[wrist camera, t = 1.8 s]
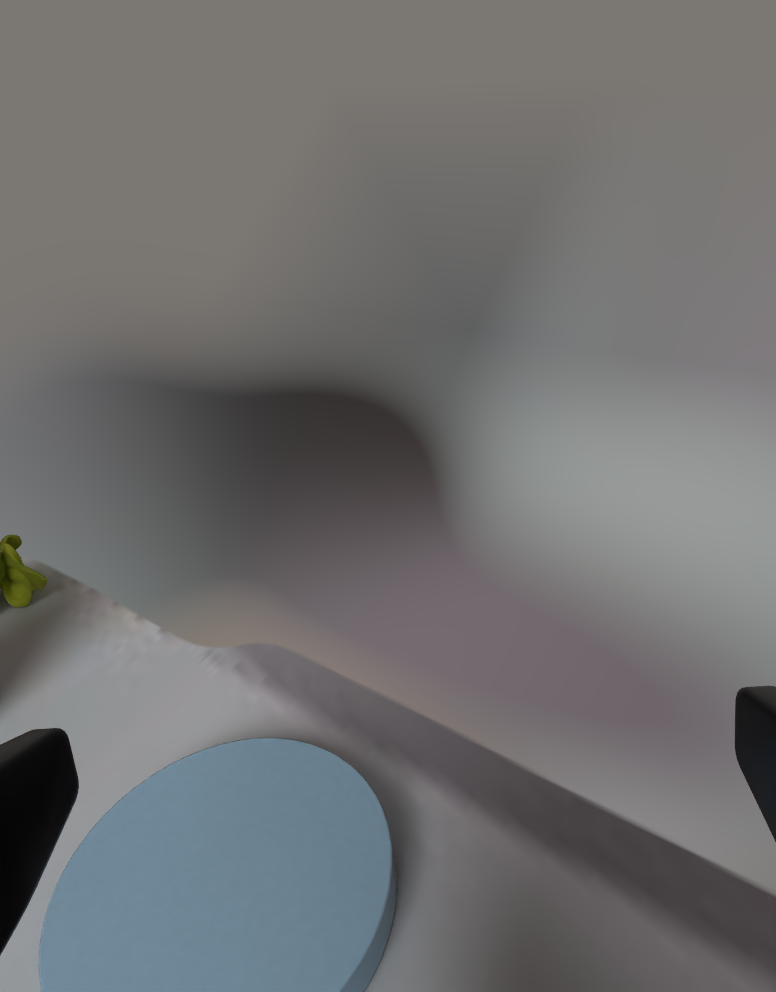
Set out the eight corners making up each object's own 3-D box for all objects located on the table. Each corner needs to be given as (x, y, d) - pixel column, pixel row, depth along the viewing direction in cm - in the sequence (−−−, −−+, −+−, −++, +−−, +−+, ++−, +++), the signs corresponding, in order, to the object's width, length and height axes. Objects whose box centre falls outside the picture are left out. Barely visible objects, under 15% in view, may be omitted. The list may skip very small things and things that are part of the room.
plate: (230, 1225, 16) (216, 1199, 15) (-17, 965, 22) (-35, 939, 22) (456, 834, 25) (453, 807, 24) (232, 726, 31) (225, 702, 31)
